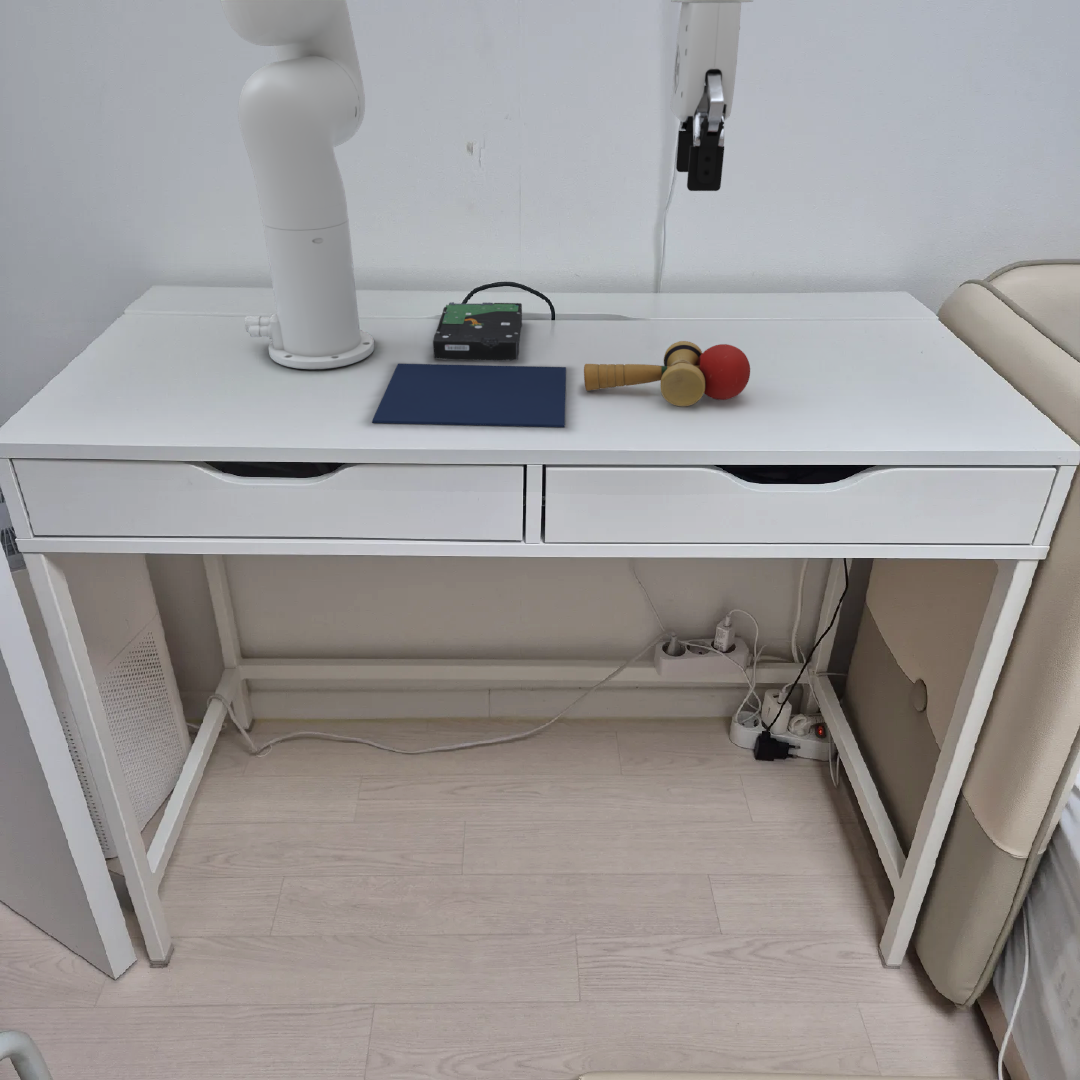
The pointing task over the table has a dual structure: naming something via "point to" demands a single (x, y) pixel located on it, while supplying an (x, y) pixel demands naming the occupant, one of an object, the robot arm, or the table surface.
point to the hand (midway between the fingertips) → (696, 180)
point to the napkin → (474, 395)
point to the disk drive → (479, 332)
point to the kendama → (680, 373)
